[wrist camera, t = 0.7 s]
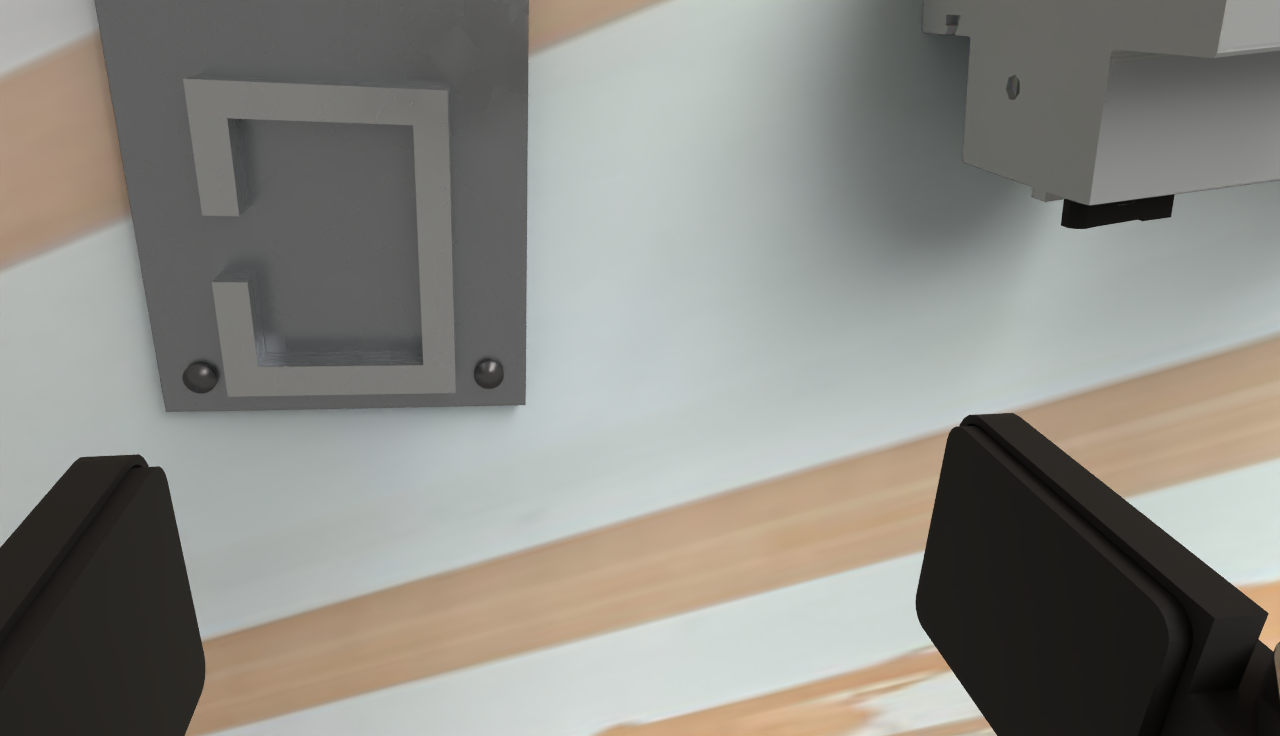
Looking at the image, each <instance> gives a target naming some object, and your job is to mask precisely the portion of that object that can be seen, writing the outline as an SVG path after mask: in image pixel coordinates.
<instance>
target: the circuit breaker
mask: <svg viewBox="0 0 1280 736" xmlns="http://www.w3.org/2000/svg"><path fill="white" fill-rule="evenodd" d="M922 31H923V32H924V33H935V34H955V35H957V36H969V38H970V54H969V68H968V83H967V98H966V113H965V128H964V142H963V157H962V160H963V162H964V163H966V164H969V165H972V166H975V167H978V168H981V169H983V170H986V171H989V172H992V173H995V174H998V175H1000V176H1003V177H1006V178H1009V179H1012V180H1015V181H1018V182H1020V183H1023V184H1026V185H1029V186H1032V187H1033V188H1032V197H1034V198H1036V199H1039V200H1041V201H1044V202H1047V201H1055V200H1062V199H1064V204H1063V212H1062V221H1061V225H1062V226H1064V227H1067V228H1074V229H1086V228H1091V227H1097V226H1102V225H1108V224H1114V223H1120V222H1126V221H1132V220H1141V221H1147V220H1154V219H1161V218H1168V217H1171V213H1172V207H1173V200H1174V194H1180V193H1188V192H1195V191H1203V190H1211V189H1218V188H1226V187H1234V186H1241V185H1249V184H1257V183H1264V182H1272V181H1279V180H1280V0H923V21H922Z"/></svg>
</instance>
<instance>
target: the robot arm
mask: <svg viewBox="0 0 1280 736" xmlns="http://www.w3.org/2000/svg"><path fill="white" fill-rule="evenodd" d="M916 611H917V616H918V619H919V622H920V624H921V626H922V628H923V629H924V631H925V632H926V633H927V635H928V636H929V638H930V639H931V641H932V642H933V644H934V645H935V646H936V648H937V649H938V651H939V652H940V654H941V655H942V657H943V658H944V659H945V661H946V662H947V664H948V665H949V667H950V668H951V670H952V671H953V672H954V674H955V675H956V677H957V678H958V680H959V681H960V682H961V684H962V685H963V687H964V688H965V690H966V691H967V693H968V694H969V695H970V697H971V698H972V700H973V701H974V703H975V704H976V706H977V707H978V708H979V710H980V711H981V713H982V714H983V716H984V717H985V719H986V720H987V721H988V723H989V724H990V726H991V727H992V729H993V730H994V732H995V733H996V734H997V736H1280V642H1279V643H1278V644H1277V645H1276V647H1275V650H1274V652H1273V651H1272V650H1270V649H1269V648H1268V647H1267V646H1266V645H1264V644H1263V643H1262V642H1261V641H1260V640H1258V638H1259V636H1260V633H1261V631H1262V628H1263V626H1264V623H1265V621H1266V619H1267V616H1268V614H1269V613H1267V612H1266V611H1265V610H1264V609H1262V608H1261V607H1260V606H1259V605H1257V604H1256V603H1255V602H1253V601H1252V600H1251V599H1250V598H1248V597H1247V596H1246V595H1245V594H1243V593H1242V592H1241V591H1240V590H1238V589H1237V588H1236V587H1234V586H1233V585H1232V584H1231V583H1229V582H1228V581H1227V580H1226V579H1224V578H1223V577H1222V576H1221V575H1219V574H1218V573H1217V572H1215V571H1214V570H1213V569H1212V568H1210V567H1209V566H1208V565H1207V564H1205V563H1204V562H1203V561H1202V560H1200V559H1199V558H1198V557H1196V556H1195V555H1194V554H1193V553H1191V552H1190V551H1189V550H1188V549H1186V548H1185V547H1184V546H1183V545H1181V544H1180V543H1179V542H1177V541H1176V540H1175V539H1174V538H1172V537H1171V536H1170V535H1169V534H1167V533H1166V532H1165V531H1164V530H1162V529H1161V528H1160V527H1159V526H1157V525H1156V524H1155V523H1153V522H1152V521H1151V520H1150V519H1148V518H1147V517H1146V516H1145V515H1143V514H1142V513H1141V512H1140V511H1138V510H1137V509H1136V508H1134V507H1133V506H1132V505H1131V504H1129V503H1128V502H1127V501H1126V500H1124V499H1123V498H1122V497H1121V496H1119V495H1118V494H1117V493H1115V492H1114V491H1113V490H1112V489H1110V488H1109V487H1108V486H1107V485H1105V484H1104V483H1103V482H1102V481H1100V480H1099V479H1098V478H1096V477H1095V476H1094V475H1093V474H1091V473H1090V472H1089V471H1088V470H1086V469H1085V468H1084V467H1083V466H1081V465H1080V464H1079V463H1078V462H1076V461H1075V460H1074V459H1072V458H1071V457H1070V456H1069V455H1067V454H1066V453H1065V452H1064V451H1062V450H1061V449H1060V448H1059V447H1057V446H1056V445H1055V444H1053V443H1052V442H1051V441H1050V440H1048V439H1047V438H1046V437H1045V436H1043V435H1042V434H1041V433H1040V432H1038V431H1037V430H1036V429H1034V428H1033V427H1032V426H1031V425H1029V424H1028V423H1027V422H1026V421H1024V420H1023V419H1022V418H1021V417H1019V416H1017V415H1015V414H1014V413H1003V414H982V415H969V416H967V417H965V418H964V419H963V421H962V422H961V424H960V426H959V427H955V428H953V429H952V430H951V432H950V433H949V436H948V439H947V443H946V448H945V453H944V458H943V463H942V468H941V473H940V478H939V484H938V489H937V494H936V499H935V504H934V509H933V514H932V519H931V524H930V529H929V534H928V539H927V544H926V549H925V554H924V559H923V564H922V569H921V574H920V579H919V584H918V589H917V594H916ZM204 680H205V657H204V652H203V647H202V642H201V638H200V633H199V628H198V623H197V619H196V614H195V609H194V604H193V600H192V595H191V590H190V586H189V581H188V576H187V571H186V567H185V562H184V557H183V552H182V548H181V543H180V538H179V533H178V529H177V524H176V519H175V515H174V510H173V505H172V500H171V496H170V491H169V486H168V481H167V478H166V474H165V472H164V471H163V469H162V468H161V467H148V464H147V462H146V461H145V459H144V458H143V457H142V456H140V455H119V456H98V457H80V458H79V459H78V460H76V461H75V462H74V463H73V464H72V465H71V467H70V468H69V469H68V470H67V471H66V472H65V473H64V475H63V476H62V477H61V478H60V479H59V480H58V482H57V483H56V484H55V485H54V486H53V487H52V489H51V490H50V491H49V492H48V493H47V494H46V495H45V497H44V498H43V499H42V500H41V501H40V502H39V504H38V505H37V506H36V507H35V508H34V509H33V510H32V512H31V513H30V514H29V515H28V516H27V517H26V519H25V520H24V521H23V522H22V523H21V524H20V526H19V527H18V528H17V529H16V530H15V531H14V532H13V534H12V535H11V536H10V537H9V538H8V539H7V541H6V542H5V543H4V544H3V545H2V546H1V547H0V736H185V733H186V731H187V728H188V726H189V723H190V721H191V718H192V716H193V713H194V711H195V708H196V706H197V703H198V701H199V698H200V696H201V693H202V690H203V686H204Z"/></svg>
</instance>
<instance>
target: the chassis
mask: <svg viewBox="0 0 1280 736" xmlns="http://www.w3.org/2000/svg"><path fill="white" fill-rule="evenodd" d="M95 5H96V11H97V16H98V22H99V28H100V34H101V40H102V45H103V51H104V57H105V63H106V68H107V74H108V80H109V86H110V92H111V97H112V103H113V109H114V115H115V120H116V126H117V132H118V138H119V144H120V149H121V155H122V161H123V167H124V172H125V178H126V184H127V190H128V196H129V201H130V207H131V213H132V219H133V225H134V230H135V236H136V242H137V248H138V253H139V259H140V265H141V271H142V277H143V282H144V288H145V294H146V300H147V305H148V311H149V317H150V323H151V329H152V334H153V340H154V346H155V352H156V357H157V363H158V369H159V375H160V381H161V386H162V392H163V398H164V404H165V409H166V412H183V411H235V410H287V409H340V408H392V407H444V406H496V405H525V397H526V271H527V144H528V17H529V0H95Z"/></svg>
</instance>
